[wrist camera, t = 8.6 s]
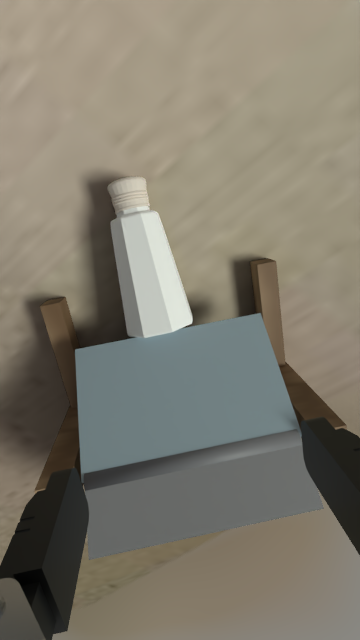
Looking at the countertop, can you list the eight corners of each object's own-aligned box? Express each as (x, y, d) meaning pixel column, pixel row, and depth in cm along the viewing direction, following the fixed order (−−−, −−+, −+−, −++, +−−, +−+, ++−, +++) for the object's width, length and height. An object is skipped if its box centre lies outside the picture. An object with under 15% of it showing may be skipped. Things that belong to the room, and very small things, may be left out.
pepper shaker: (121, 331, 28) (84, 195, 26) (181, 314, 30) (151, 184, 28) (136, 343, 23) (91, 176, 21) (206, 321, 25) (172, 163, 23)
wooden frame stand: (94, 465, 33) (68, 582, 22) (44, 301, 28) (-19, 350, 17) (286, 425, 33) (350, 520, 23) (270, 257, 29) (341, 280, 18)
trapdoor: (112, 545, 25) (84, 561, 19) (98, 376, 31) (73, 348, 25) (298, 505, 25) (328, 507, 19) (249, 346, 31) (260, 311, 25)
